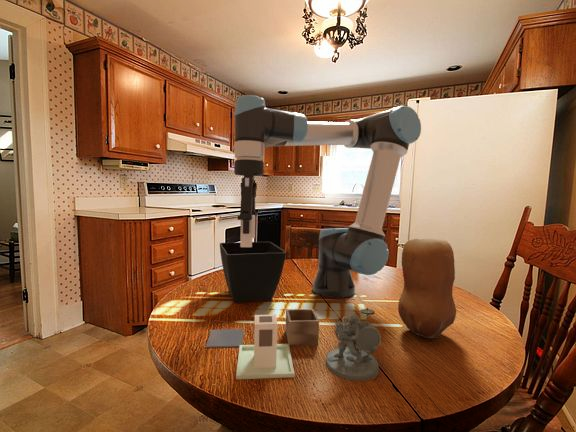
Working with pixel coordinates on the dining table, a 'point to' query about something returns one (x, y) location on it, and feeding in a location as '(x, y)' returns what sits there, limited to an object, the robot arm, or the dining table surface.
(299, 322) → the walnut open box
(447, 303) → the butternut squash
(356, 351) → the figurine
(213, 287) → the dining table surface
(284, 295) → the dining table surface
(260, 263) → the flower pot
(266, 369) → the green tray
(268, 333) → the cream square pillar
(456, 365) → the dining table surface
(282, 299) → the dining table surface
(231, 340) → the slate coaster
